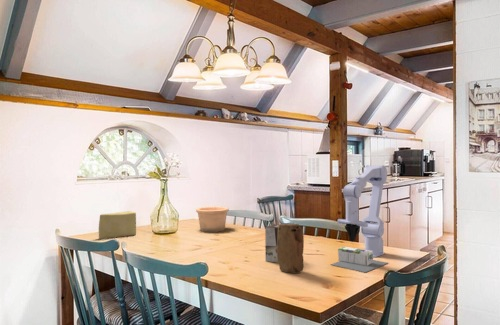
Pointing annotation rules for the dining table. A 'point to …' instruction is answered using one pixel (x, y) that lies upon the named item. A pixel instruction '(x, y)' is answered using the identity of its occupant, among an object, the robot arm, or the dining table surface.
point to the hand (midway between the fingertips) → (352, 241)
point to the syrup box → (355, 255)
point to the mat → (359, 266)
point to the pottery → (212, 218)
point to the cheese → (117, 225)
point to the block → (290, 247)
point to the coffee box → (271, 243)
